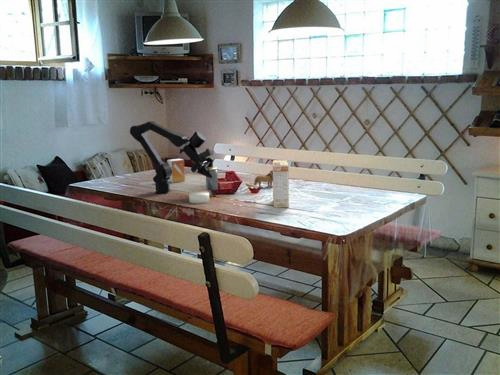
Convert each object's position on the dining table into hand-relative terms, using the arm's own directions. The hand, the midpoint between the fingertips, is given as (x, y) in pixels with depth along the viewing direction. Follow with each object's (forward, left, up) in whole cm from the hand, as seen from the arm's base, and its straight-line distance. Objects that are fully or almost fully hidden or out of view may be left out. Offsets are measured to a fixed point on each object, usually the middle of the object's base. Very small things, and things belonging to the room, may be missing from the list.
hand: (214, 176), depth 250 cm
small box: (-29, +36, -10) cm, 48 cm away
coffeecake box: (+35, -18, -10) cm, 40 cm away
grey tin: (-1, 0, -7) cm, 7 cm away
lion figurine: (+24, +21, -10) cm, 33 cm away
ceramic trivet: (-5, -13, -10) cm, 17 cm away
